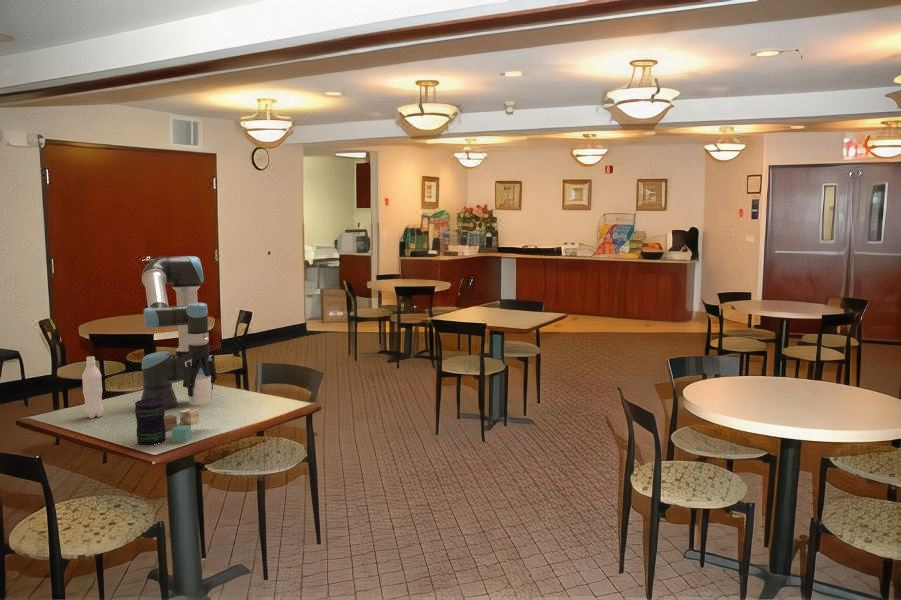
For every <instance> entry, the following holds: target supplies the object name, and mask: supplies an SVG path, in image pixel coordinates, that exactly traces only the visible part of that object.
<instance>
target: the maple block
mask: <svg viewBox="0 0 901 600" xmlns="http://www.w3.org/2000/svg"><path fill="white" fill-rule="evenodd" d="M199 411H200V410H199V409H198V408H186V409H184V410H180V411H179V422H180V423H179V424H180V425H188V424H190V425H191V424H192V425H194V424H197V423H199V422H200V415H199V414H200V412H199ZM198 421H199V422H198ZM192 425H191V426H192Z"/></svg>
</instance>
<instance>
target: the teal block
mask: <svg viewBox="0 0 901 600" xmlns="http://www.w3.org/2000/svg"><path fill="white" fill-rule="evenodd" d="M191 426H192V425H188V424H180V425H179V424H177V426H176V427H174V428H173V429H172V430H171V441H172V442H186V443H187V442H188V441H190V440H191V439H192V433H191V432H192V431H191V430H192V429H191V428H192V427H191Z"/></svg>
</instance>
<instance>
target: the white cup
mask: <svg viewBox="0 0 901 600" xmlns="http://www.w3.org/2000/svg"><path fill="white" fill-rule="evenodd" d="M190 385H191V384H190ZM194 388H196V405H199V406H200V405H207V404H209V403H210V402H211V400H210V395H211V376H210V375H209V377H207V376H205V375H197V376H196V380H195V384H194Z"/></svg>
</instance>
